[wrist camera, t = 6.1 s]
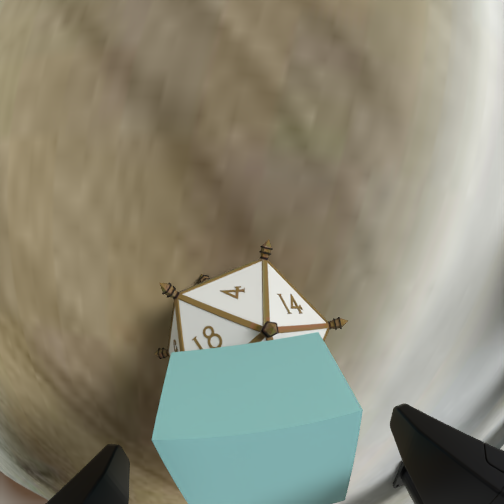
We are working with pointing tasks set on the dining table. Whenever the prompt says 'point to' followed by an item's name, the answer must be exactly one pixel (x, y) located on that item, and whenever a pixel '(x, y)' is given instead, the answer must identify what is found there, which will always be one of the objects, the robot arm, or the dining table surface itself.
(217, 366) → the teal block
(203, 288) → the game die
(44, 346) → the dining table surface
